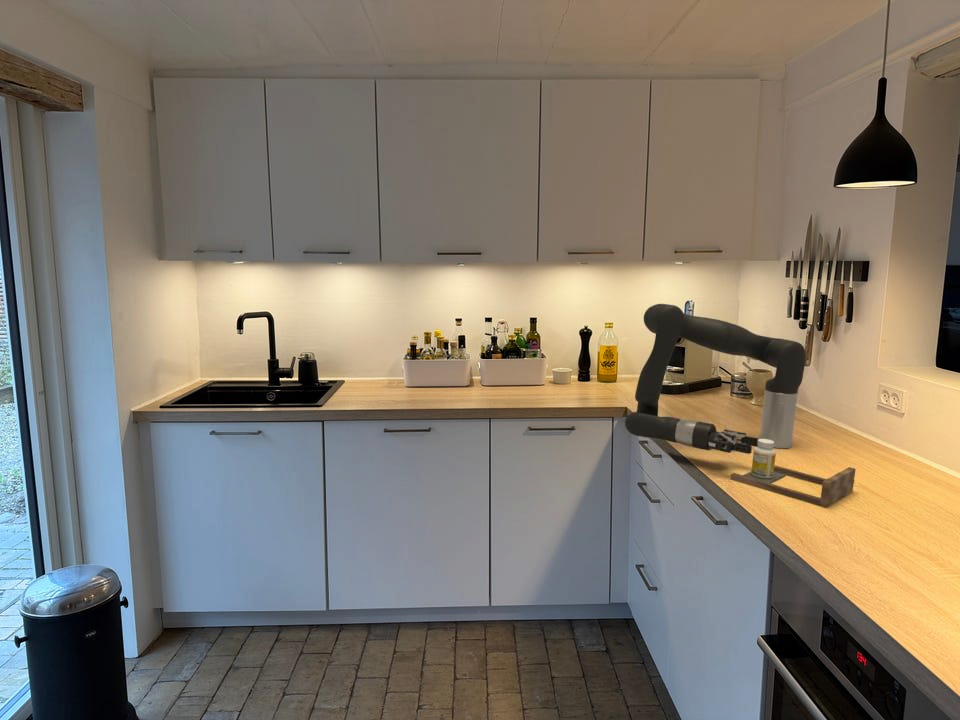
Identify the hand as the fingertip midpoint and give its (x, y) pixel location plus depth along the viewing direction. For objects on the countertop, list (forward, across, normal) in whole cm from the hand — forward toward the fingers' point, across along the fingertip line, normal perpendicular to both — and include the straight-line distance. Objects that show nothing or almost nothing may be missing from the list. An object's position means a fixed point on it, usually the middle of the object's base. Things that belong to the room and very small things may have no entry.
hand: (755, 446), depth 165 cm
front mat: (+2, 0, +8) cm, 8 cm away
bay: (+9, -1, +8) cm, 12 cm away
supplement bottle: (+2, 0, +8) cm, 8 cm away
